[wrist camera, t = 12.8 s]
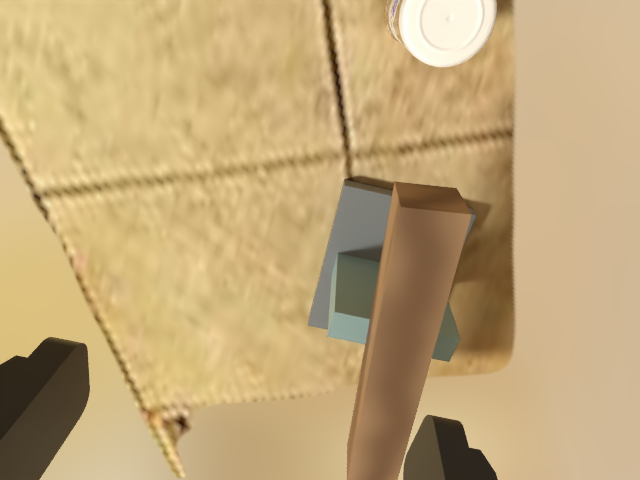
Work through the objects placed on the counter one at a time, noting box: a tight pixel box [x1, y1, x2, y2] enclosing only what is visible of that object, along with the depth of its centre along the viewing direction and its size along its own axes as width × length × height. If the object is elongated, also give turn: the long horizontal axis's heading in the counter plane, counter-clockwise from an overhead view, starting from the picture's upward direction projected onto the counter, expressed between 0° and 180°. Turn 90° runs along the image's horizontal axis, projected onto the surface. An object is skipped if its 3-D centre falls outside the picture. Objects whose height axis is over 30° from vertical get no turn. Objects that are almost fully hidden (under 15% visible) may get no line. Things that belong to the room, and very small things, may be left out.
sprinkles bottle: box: [385, 0, 497, 67], centre depth 27 cm, size 5×5×13 cm
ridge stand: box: [308, 179, 477, 362], centre depth 39 cm, size 12×16×10 cm
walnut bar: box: [347, 182, 472, 480], centre depth 32 cm, size 4×26×4 cm, turn 175°
